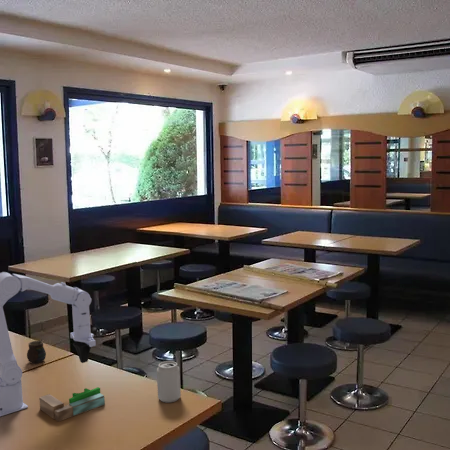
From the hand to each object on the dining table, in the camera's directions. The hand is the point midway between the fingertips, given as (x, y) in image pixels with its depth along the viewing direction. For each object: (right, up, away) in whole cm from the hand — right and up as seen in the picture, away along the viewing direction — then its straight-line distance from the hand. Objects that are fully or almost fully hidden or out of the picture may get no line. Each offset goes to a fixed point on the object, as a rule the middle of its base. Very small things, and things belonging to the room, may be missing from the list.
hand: (84, 361), depth 191 cm
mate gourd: (-26, -7, +28) cm, 39 cm away
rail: (+3, -11, -18) cm, 21 cm away
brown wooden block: (-6, -12, -17) cm, 22 cm away
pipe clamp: (+3, -11, -13) cm, 17 cm away
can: (+31, -10, -10) cm, 34 cm away
